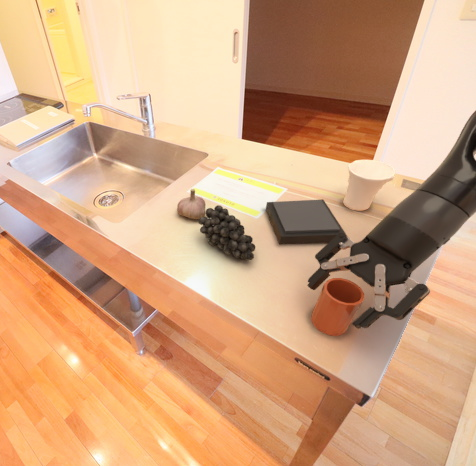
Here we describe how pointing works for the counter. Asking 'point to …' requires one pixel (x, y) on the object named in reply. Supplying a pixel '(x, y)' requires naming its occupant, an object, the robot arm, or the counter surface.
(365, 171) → the cup
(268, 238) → the counter surface
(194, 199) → the garlic bulb
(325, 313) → the terracotta cup
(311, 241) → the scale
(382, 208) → the counter surface
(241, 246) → the fruit
